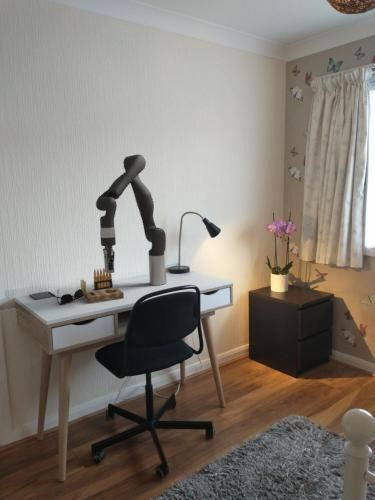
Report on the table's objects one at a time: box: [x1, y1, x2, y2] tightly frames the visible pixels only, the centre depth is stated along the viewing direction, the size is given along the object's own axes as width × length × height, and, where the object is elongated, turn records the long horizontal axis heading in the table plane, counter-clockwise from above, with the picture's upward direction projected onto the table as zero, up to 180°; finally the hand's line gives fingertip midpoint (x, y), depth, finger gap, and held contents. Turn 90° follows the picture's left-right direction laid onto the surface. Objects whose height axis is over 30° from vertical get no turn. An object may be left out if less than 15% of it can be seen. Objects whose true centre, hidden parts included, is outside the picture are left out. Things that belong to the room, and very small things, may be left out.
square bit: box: [103, 256, 115, 274], centre depth 210 cm, size 4×4×8 cm
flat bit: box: [80, 279, 87, 292], centre depth 216 cm, size 2×4×8 cm, turn 30°
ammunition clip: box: [93, 267, 114, 291], centre depth 229 cm, size 11×2×12 cm, turn 122°
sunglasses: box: [48, 288, 84, 306], centre depth 210 cm, size 17×14×5 cm
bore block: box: [83, 287, 125, 304], centre depth 210 cm, size 18×12×3 cm, turn 117°
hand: (109, 268), depth 210 cm, fingers closed on square bit, 4 cm apart
